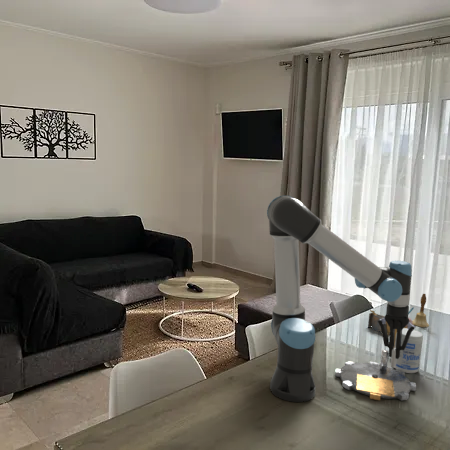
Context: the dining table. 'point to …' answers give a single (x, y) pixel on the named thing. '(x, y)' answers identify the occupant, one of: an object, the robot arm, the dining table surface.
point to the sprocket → (376, 379)
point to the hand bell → (421, 314)
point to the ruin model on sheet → (376, 321)
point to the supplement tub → (410, 352)
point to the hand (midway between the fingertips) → (393, 366)
